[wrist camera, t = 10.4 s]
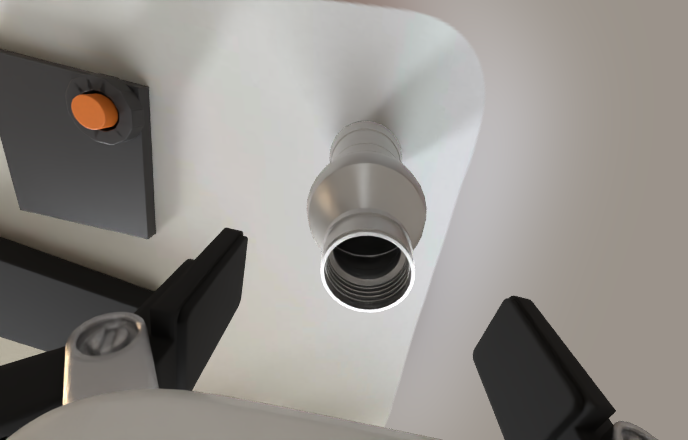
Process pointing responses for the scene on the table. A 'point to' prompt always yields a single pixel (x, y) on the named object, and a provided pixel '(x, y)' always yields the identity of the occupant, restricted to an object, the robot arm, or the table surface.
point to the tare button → (94, 111)
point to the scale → (76, 146)
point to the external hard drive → (55, 296)
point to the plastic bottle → (366, 219)
